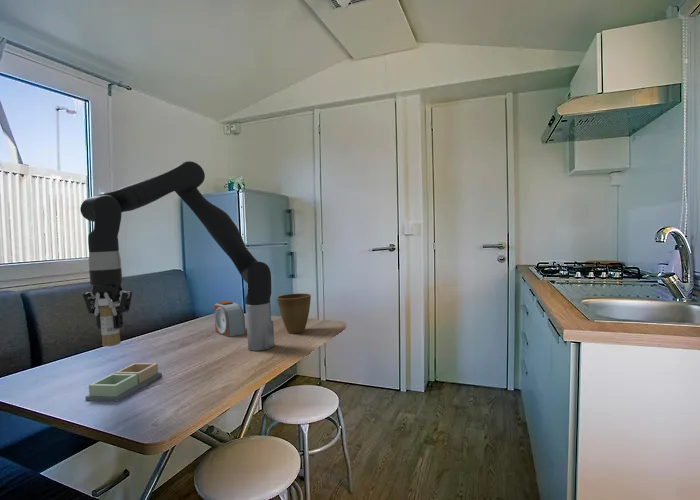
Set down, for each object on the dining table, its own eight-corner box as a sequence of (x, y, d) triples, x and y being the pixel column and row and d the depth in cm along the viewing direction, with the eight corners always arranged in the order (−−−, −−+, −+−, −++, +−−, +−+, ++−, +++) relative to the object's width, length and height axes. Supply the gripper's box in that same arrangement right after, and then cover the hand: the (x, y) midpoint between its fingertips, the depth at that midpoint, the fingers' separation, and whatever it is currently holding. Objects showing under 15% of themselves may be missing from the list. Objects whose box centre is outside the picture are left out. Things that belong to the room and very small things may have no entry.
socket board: (161, 375, 118) (160, 363, 118) (118, 401, 100) (117, 386, 100) (133, 374, 119) (132, 362, 119) (85, 400, 102) (84, 385, 101)
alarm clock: (213, 331, 171) (211, 302, 171) (231, 327, 177) (229, 299, 176) (227, 337, 160) (225, 306, 160) (245, 333, 166) (244, 303, 165)
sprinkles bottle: (121, 341, 108) (118, 295, 107) (119, 345, 104) (116, 297, 103) (103, 344, 106) (99, 297, 105) (100, 348, 102) (96, 299, 101)
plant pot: (318, 328, 168) (316, 293, 168) (301, 337, 155) (299, 299, 154) (290, 326, 175) (289, 292, 174) (271, 334, 161) (269, 298, 160)
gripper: (138, 265, 106) (142, 324, 107) (94, 267, 109) (98, 325, 109) (117, 268, 99) (122, 331, 100) (71, 270, 101) (76, 331, 102)
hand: (110, 327), depth 105 cm, fingers closed on sprinkles bottle, 4 cm apart
